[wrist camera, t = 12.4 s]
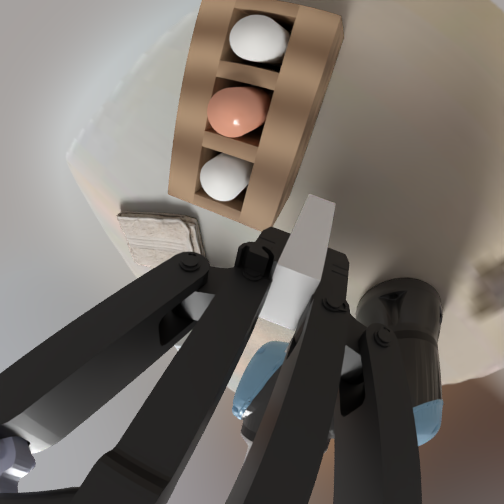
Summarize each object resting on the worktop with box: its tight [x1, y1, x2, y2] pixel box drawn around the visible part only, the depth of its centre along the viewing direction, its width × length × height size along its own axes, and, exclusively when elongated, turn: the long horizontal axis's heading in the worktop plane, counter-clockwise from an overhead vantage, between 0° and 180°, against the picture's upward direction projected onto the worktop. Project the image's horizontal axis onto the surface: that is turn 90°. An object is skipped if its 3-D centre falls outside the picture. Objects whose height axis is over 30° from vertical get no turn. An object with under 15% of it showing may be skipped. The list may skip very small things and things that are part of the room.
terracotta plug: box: [207, 86, 274, 137], centre depth 24 cm, size 4×4×9 cm
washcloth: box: [117, 211, 206, 268], centre depth 48 cm, size 12×18×3 cm, turn 96°
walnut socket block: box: [168, 0, 344, 232], centre depth 25 cm, size 22×12×10 cm, turn 166°
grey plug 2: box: [200, 153, 254, 201], centre depth 29 cm, size 4×4×9 cm
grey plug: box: [229, 15, 291, 67], centre depth 20 cm, size 4×4×9 cm
